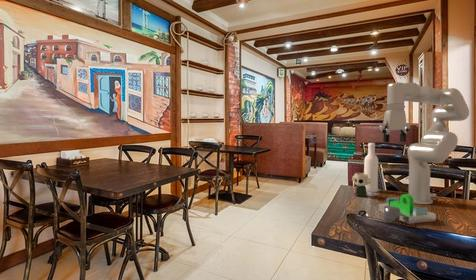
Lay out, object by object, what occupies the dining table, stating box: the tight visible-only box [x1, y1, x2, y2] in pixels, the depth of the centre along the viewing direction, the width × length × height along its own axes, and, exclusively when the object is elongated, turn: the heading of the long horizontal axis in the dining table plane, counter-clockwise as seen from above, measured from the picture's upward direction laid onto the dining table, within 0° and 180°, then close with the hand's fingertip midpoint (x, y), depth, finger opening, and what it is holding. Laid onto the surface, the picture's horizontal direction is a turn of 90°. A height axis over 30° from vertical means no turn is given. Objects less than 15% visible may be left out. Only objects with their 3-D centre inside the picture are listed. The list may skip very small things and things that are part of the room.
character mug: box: [351, 172, 370, 197], centre depth 157 cm, size 11×7×13 cm, turn 34°
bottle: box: [363, 142, 379, 193], centre depth 167 cm, size 8×8×30 cm
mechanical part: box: [390, 193, 418, 214], centre depth 125 cm, size 12×6×8 cm, turn 9°
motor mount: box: [377, 196, 437, 225], centre depth 124 cm, size 22×18×6 cm
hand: (394, 141), depth 135 cm, fingers open, 9 cm apart
